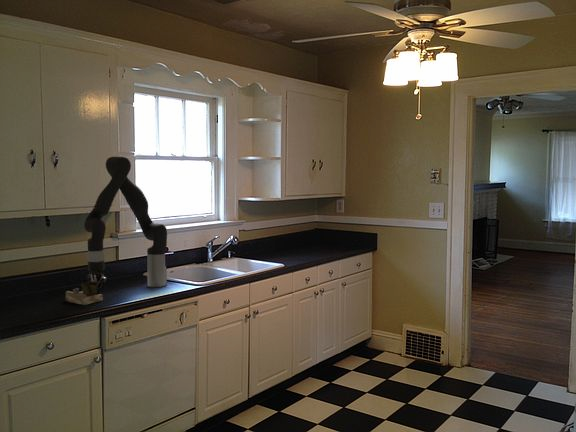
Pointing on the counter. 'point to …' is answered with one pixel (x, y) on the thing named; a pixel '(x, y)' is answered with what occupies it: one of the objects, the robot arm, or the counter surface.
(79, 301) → the hub cradle
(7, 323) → the counter surface
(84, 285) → the cup
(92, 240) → the robot arm
